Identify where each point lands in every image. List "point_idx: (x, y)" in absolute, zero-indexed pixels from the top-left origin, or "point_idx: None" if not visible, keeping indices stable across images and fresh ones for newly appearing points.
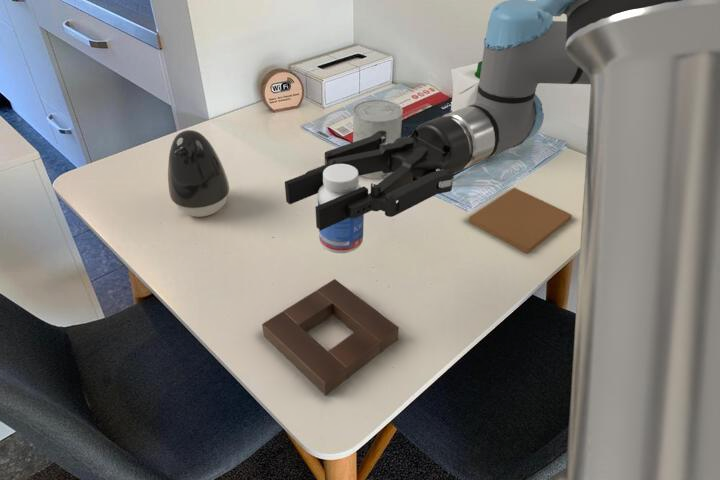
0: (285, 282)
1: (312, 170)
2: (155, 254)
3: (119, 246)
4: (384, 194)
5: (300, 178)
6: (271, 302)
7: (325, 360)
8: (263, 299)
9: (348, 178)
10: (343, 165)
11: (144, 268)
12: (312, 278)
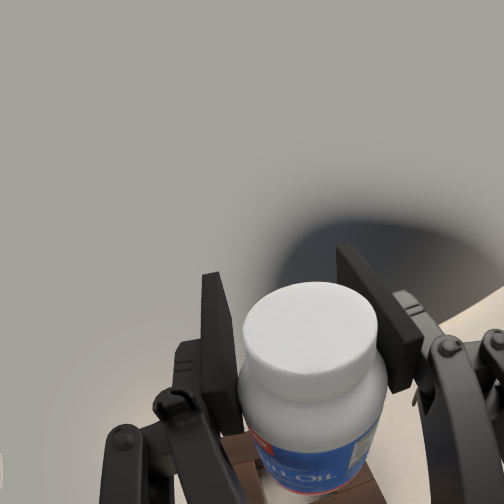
0: (425, 450)
1: (415, 304)
2: (487, 320)
3: (496, 294)
4: (169, 449)
5: (356, 265)
6: (392, 431)
7: (240, 451)
8: (400, 422)
9: (256, 330)
10: (358, 339)
11: (467, 314)
12: (423, 486)
